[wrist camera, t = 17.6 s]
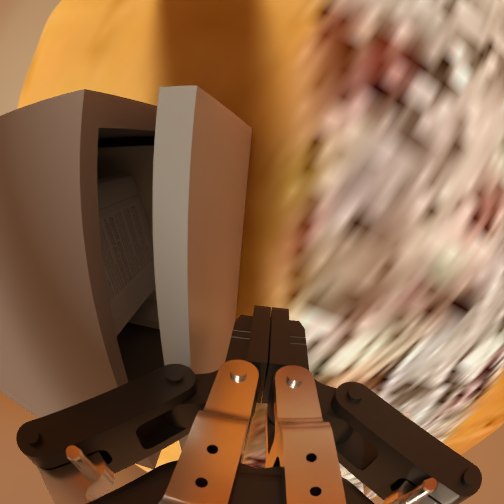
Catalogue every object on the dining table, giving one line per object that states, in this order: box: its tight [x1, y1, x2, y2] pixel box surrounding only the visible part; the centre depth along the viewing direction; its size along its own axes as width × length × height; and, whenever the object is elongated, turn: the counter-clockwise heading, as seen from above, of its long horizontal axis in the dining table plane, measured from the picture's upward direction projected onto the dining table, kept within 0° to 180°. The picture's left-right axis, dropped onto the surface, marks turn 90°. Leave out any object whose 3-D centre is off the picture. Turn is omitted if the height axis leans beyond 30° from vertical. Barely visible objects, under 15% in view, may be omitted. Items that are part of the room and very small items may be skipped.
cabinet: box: [0, 89, 165, 469], centre depth 17 cm, size 18×20×17 cm
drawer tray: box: [97, 85, 252, 450], centre depth 17 cm, size 18×20×16 cm
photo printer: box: [97, 174, 156, 337], centre depth 16 cm, size 10×4×12 cm, turn 11°
